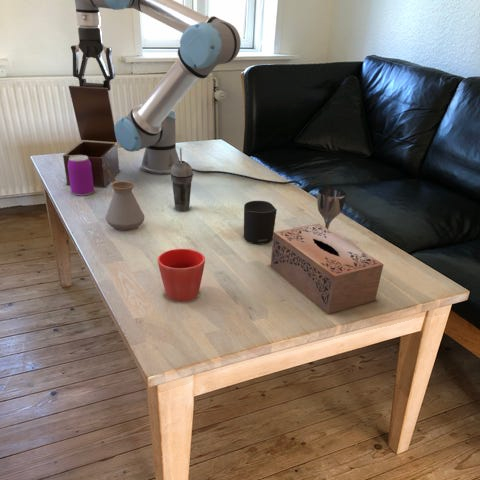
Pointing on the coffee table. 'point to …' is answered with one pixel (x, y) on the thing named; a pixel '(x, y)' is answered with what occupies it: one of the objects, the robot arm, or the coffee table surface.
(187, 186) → the beverage cup
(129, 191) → the coffee pot
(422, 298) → the coffee table surface
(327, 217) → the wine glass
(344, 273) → the tissue box cover
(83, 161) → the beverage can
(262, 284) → the coffee table surface
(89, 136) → the lid
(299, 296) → the coffee table surface
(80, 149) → the chest
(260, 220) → the pen holder
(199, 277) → the flower pot
